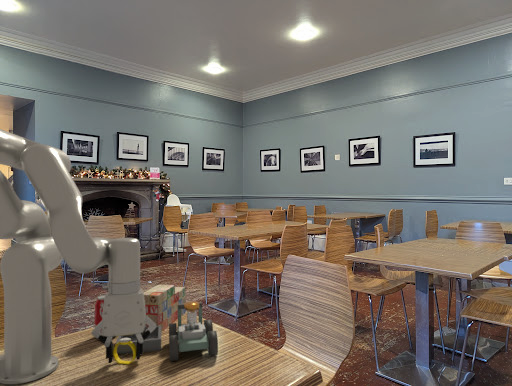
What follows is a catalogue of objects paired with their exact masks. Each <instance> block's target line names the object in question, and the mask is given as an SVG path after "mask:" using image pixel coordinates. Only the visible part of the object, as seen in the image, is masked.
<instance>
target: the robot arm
mask: <svg viewBox="0 0 512 386" xmlns="http://www.w3.org/2000/svg"><path fill="white" fill-rule="evenodd" d="M0 165H2V166H7V167H11V168H14V169H16V170H20V171H23V172H24V173H25V175H26V177H27V179H28V180H29V182H30V184H31V186H32V187H33V189H34V191H35V192H36V195H37V196H38V197H39V199H40V201H41V204H42V206H43V207H44V209H45V210H44V209H43V208H42V207H41V206H40V205H39V204H37V202H36V203H35V202H33V201H30V200H26V199H24V200H22V199H20V198H19V196H18V195H17V193H16V191H15V190H14V188H13V186H12V184H11V182H10V181H9V179H8V178H7V176H6V175H5V174H4V173H3V172H2V170H0V240H12V239H15V242H16V243H14V244H12V245H11V246H10V247H8V248H7V249H6V250H5V252H4V253H3V255H2V256H1V259H0V276H1V280H2V286H3V299H4V300H3V301H4V302H3V303H4V305H3V306H4V308H3V309H4V310H3V311H4V312H3V313H4V314H3V315H4V318H3V319H4V326H3V327H4V333H3V334H4V335H3V336H4V338H3V339H4V344H3V345H4V346H3V348H4V349H3V350H4V351H3V354H1V355H0V384H2V385H20V384H26V383H28V382H33V381H36V380H39V379H41V378H44V377H46V376H48V375H49V374H51V373H53V372H54V371H55V370H56V369H57V368H58V366H59V363H60V361H59V358H58V357H56V356H54V355H52V320H53V319H52V317H53V315H52V312H53V311H52V309H53V308H52V304H53V303H52V288H51V287H52V286H51V282H50V277H49V272H51V271H53V270H55V269H56V268H58V266H59V265H61V264H62V262H63V261H64V262H65V263H66V264H67V266H68V267H69V268H70V269H71V270H72V271H74V272H76V273H79V274H89V273H92V272H95V270H97V269H98V268H101V267H103V266H105V265H106V266H107V265H108V282H106V283H102V284H101V285H102V287H101V288H102V290H105V291H107V293H106V295H105V298H104V304H103V315H102V321H101V322H100V323H99V324H98V325H97V326H96V327H95V326H94V328H93V329H92V331H91V335H92V336H93V337H94V338H95V339H97V340H98V341H99V342H100V343H101V344H102V345H103V346H104V348H105V359H108V364H111V363H112V362H113V360H114V357H113V348H114V343H113V338H115V337H118V336H124V335H133V334H136V337H137V339H138V340H137V345H136V355H137V356H136V360H137V361H138V360H140V358H141V355H143V354H144V352H143V341H144V340H145V339H146V338H147V337H148V336H149V335H150V333H151V332H152V331H153V330H154V329H155V328H156V323H154V322H153V321H152V320H151V319H150V318H149V317H148V316H147V315H146V309H145V299H144V294H143V293H144V290H143V289H141V243H140V240H139V239H138V238H135V237H120V238H119V237H117V238H108V237H107V238H106V237H96V236H95V237H92V235H91V234H90V232H89V231H88V229H87V226H86V224H85V222H84V219H83V214H82V207H83V195H82V193H81V191H80V190H79V187H78V186H77V184H76V182H75V180H74V179H73V177H72V175H71V173H70V172H71V170H72V163H71V159H70V157H69V155H68V154H67V153H66V152H64V151H63V150H62V149H59V148H57V147H54V146H51V145H49V144H44V143H40V142H37V141H34V140H32V139H28V138H26V137H22V136H20V135H18V134H15V133H12V132H10V131H8V130H7V131H6V130H4V129H2V128H0ZM45 211H46V212H45ZM146 324H147V325H148V326H149V327H148V329H146V330H145V326H146ZM101 329H102V333H101V332H100V330H101ZM144 330H145V331H144ZM143 331H144V332H143ZM114 336H115V337H114Z"/></svg>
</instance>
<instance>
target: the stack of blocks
mask: <svg viewBox="0 0 512 386" xmlns="http://www.w3.org/2000/svg"><path fill="white" fill-rule="evenodd" d="M143 294H144V299H145V309H146V315H147V316H148V317H149V318H150V319H151V320H152V321H153V322H154V323H156V326H160V325H161V333H162V332H164V331H165V330H166V329H167V328H169V324H171V323H175V322H176V321H177V320H178V319H177V318H178V304H184V303H186V301H187V298H186V297H187V295H186V287H185V286H176V285H174V284H157V285H155V286H153V287H151V288H149V289H148V290H146V291H143ZM185 313H187V310H185V309H181V317H182V316H183V315H185ZM176 319H177V320H176ZM145 327H149V326H148V325H147V324H146V326H145Z"/></svg>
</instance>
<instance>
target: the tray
mask: <svg viewBox="0 0 512 386" xmlns="http://www.w3.org/2000/svg"><path fill="white" fill-rule="evenodd" d="M146 329H148V327H145V330H146ZM145 330H144V331H145ZM144 331H143V332H144ZM122 338H130V339H131V342H133V343H134V344H135V346H136V345H137V340H138V339H137V337H136V334H133V335H124V336H117V339H116V342H115V345H116V344H117V343H118V342H119V340H120V339H122ZM156 351H162V332H161V325H160V326H156V328H155V329H154V330H153V331H152V332H151V333H150V335H149V336H148V337H147V338H146V339H145V340H144V341H143V353H149V352H156ZM117 354H118V356H123V355H131V354H132V355H133V350H132V348H131V347H130V346H129V345H128V344H126V345H121V344H119V345H118V347H117Z"/></svg>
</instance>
